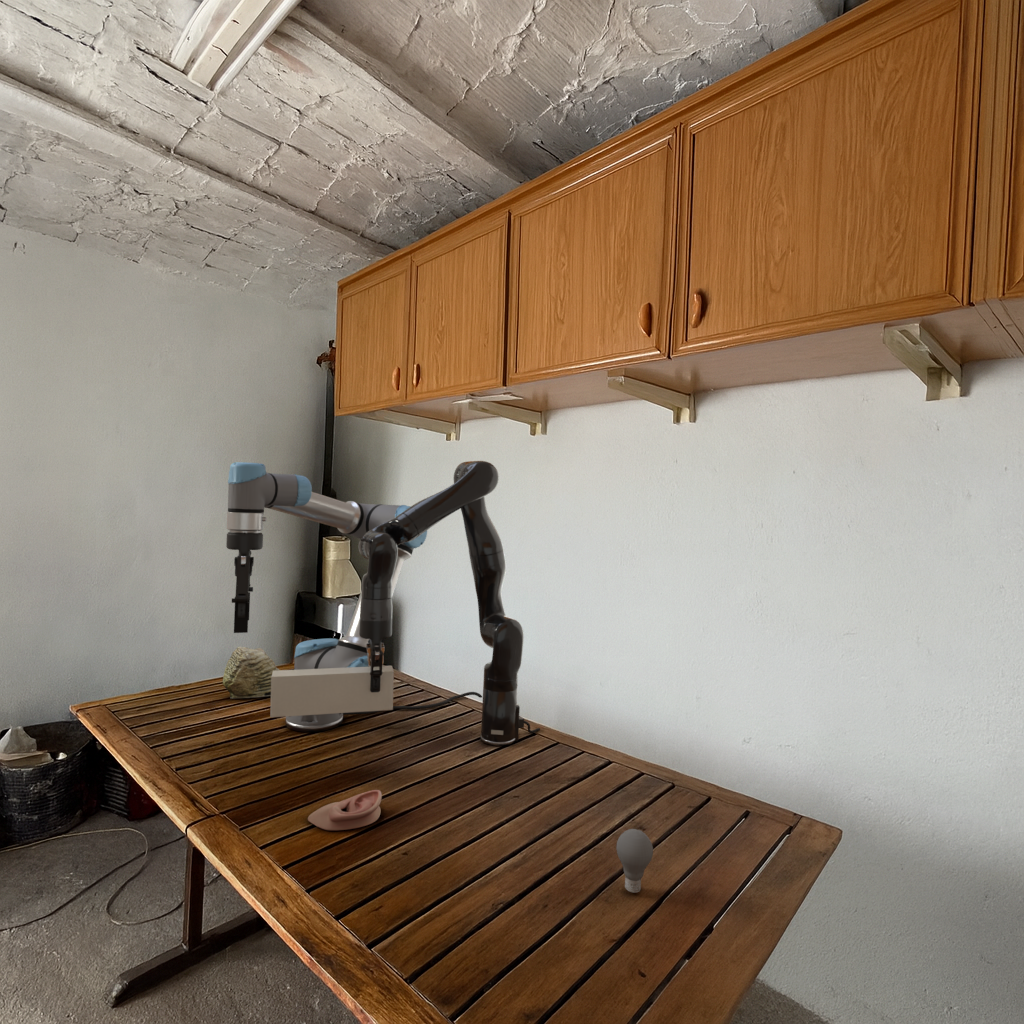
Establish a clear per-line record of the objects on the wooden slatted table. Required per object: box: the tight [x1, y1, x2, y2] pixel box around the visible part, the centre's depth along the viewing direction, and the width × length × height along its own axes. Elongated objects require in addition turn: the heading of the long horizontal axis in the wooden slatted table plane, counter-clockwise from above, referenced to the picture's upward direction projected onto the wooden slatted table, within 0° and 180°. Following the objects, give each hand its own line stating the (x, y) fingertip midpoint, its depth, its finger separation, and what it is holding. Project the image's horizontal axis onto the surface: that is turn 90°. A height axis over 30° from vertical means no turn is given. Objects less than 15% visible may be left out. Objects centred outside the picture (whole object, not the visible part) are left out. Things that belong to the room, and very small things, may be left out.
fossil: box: [222, 646, 280, 699], centre depth 198 cm, size 9×18×15 cm, turn 132°
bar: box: [269, 665, 395, 718], centre depth 147 cm, size 27×5×9 cm, turn 106°
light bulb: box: [615, 828, 654, 894], centre depth 106 cm, size 6×6×10 cm
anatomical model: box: [307, 789, 383, 831], centre depth 126 cm, size 13×4×12 cm
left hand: (241, 626), depth 142 cm, fingers open, 13 cm apart
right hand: (374, 687), depth 149 cm, fingers closed on bar, 5 cm apart
